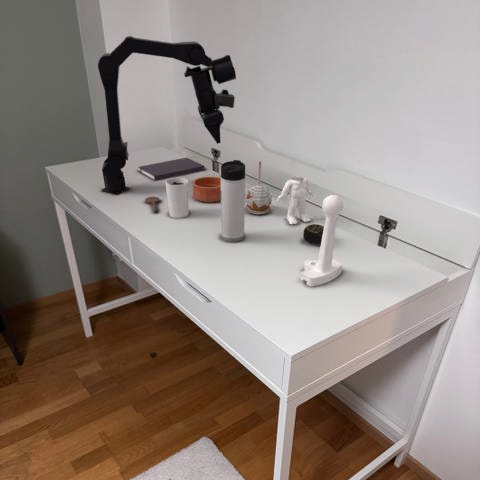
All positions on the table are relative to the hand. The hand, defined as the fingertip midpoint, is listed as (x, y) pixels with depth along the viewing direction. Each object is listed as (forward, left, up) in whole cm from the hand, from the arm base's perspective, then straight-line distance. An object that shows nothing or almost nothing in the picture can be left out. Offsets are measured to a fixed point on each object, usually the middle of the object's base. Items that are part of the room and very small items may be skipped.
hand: (217, 139), depth 152 cm
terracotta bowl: (+4, -10, -15) cm, 19 cm away
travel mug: (+26, -32, -16) cm, 44 cm away
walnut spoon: (-7, -26, -15) cm, 31 cm away
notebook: (-24, +5, -16) cm, 29 cm away
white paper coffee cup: (+4, -27, -16) cm, 32 cm away
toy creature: (+36, -12, -16) cm, 41 cm away
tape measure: (+47, -22, -16) cm, 54 cm away
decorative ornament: (+23, -12, -16) cm, 30 cm away
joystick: (+54, -39, -16) cm, 68 cm away
